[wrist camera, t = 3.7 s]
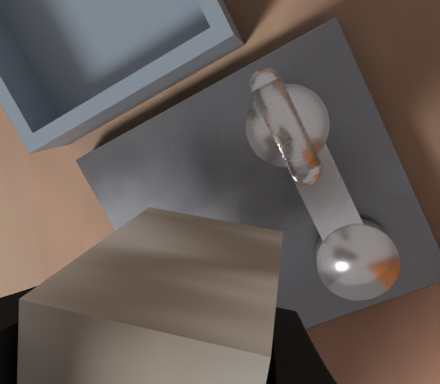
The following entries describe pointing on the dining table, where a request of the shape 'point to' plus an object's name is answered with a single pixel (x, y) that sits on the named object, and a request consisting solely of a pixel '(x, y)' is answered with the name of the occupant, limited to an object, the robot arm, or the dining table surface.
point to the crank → (320, 187)
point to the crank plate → (272, 171)
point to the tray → (100, 59)
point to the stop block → (157, 307)
